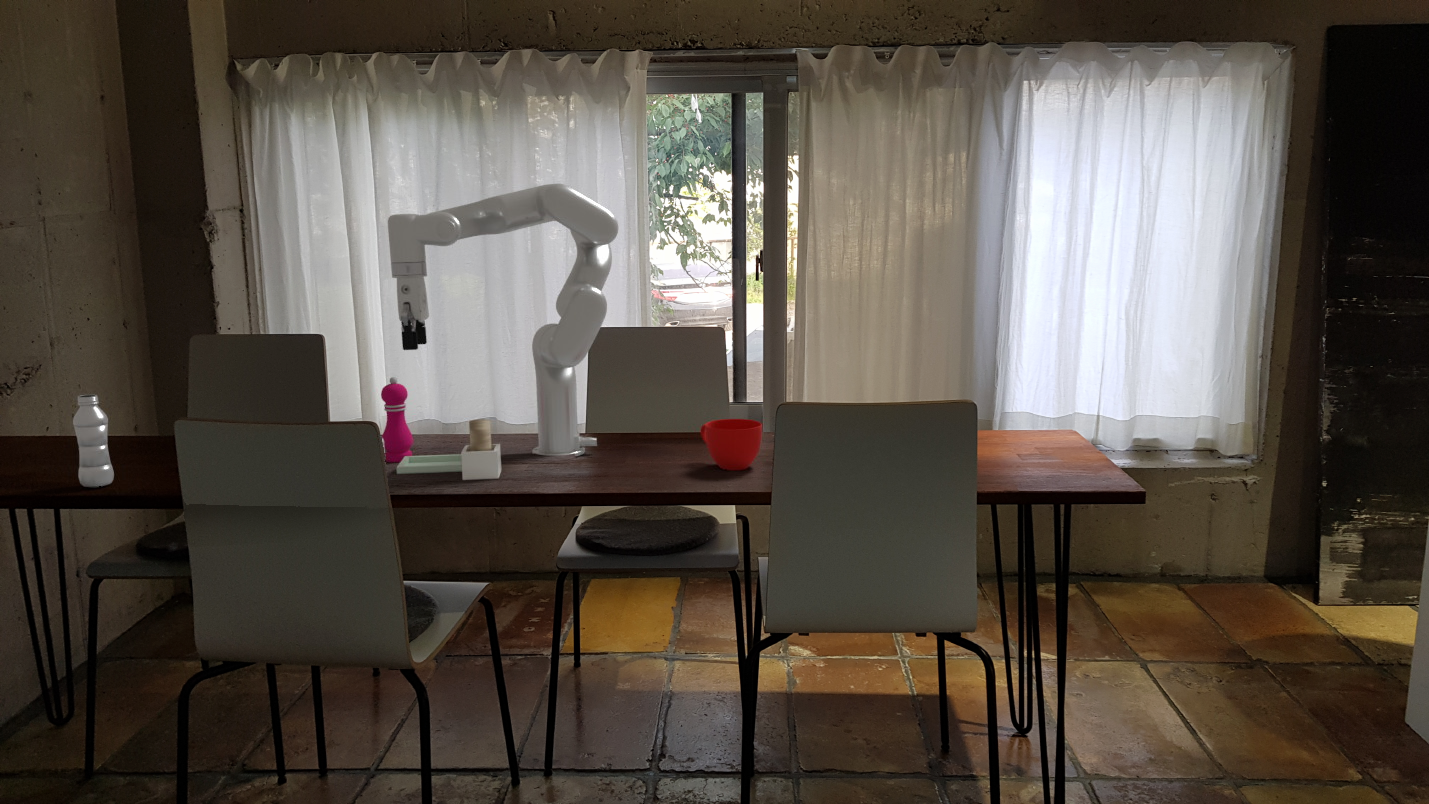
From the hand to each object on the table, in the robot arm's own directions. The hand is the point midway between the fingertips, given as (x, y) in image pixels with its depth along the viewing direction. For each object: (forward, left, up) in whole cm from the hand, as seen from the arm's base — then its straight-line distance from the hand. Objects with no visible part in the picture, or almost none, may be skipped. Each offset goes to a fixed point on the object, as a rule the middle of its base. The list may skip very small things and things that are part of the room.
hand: (415, 346), depth 236 cm
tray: (-4, +2, -28) cm, 29 cm away
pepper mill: (+7, -11, -29) cm, 31 cm away
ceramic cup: (-70, +8, -29) cm, 76 cm away
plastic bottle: (+68, +5, -29) cm, 74 cm away
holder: (-15, +12, -28) cm, 34 cm away
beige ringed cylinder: (-15, +12, -27) cm, 33 cm away
